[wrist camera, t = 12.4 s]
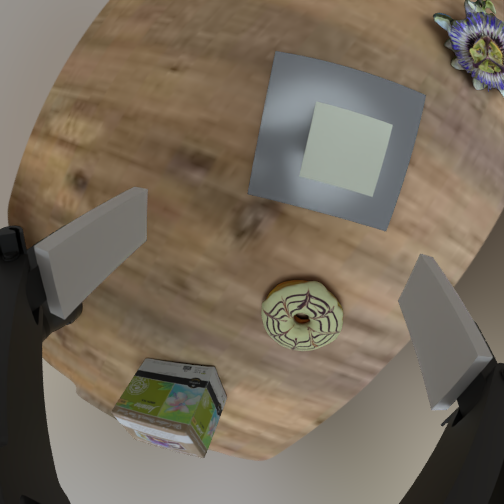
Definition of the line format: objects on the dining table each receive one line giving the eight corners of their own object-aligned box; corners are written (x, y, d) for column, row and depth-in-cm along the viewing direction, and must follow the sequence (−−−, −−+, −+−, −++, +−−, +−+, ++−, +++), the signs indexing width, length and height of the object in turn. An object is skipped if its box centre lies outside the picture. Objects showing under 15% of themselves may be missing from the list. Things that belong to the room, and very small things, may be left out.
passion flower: (439, 68, 25) (414, 21, 17) (476, 21, 18) (460, -35, 10) (505, 128, 21) (512, 95, 13) (543, 76, 14) (556, 29, 6)
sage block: (302, 160, 29) (299, 176, 22) (315, 105, 26) (316, 101, 19) (358, 175, 28) (372, 196, 21) (372, 121, 25) (392, 124, 18)
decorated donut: (317, 260, 35) (317, 276, 32) (354, 319, 38) (356, 338, 35) (249, 294, 39) (243, 311, 36) (291, 345, 42) (288, 363, 39)
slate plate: (249, 191, 33) (247, 194, 32) (277, 53, 25) (275, 51, 24) (383, 227, 31) (386, 231, 30) (422, 95, 23) (425, 95, 22)
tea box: (215, 363, 48) (186, 434, 35) (228, 396, 52) (206, 460, 39) (144, 356, 51) (108, 413, 38) (162, 387, 56) (134, 441, 43)
